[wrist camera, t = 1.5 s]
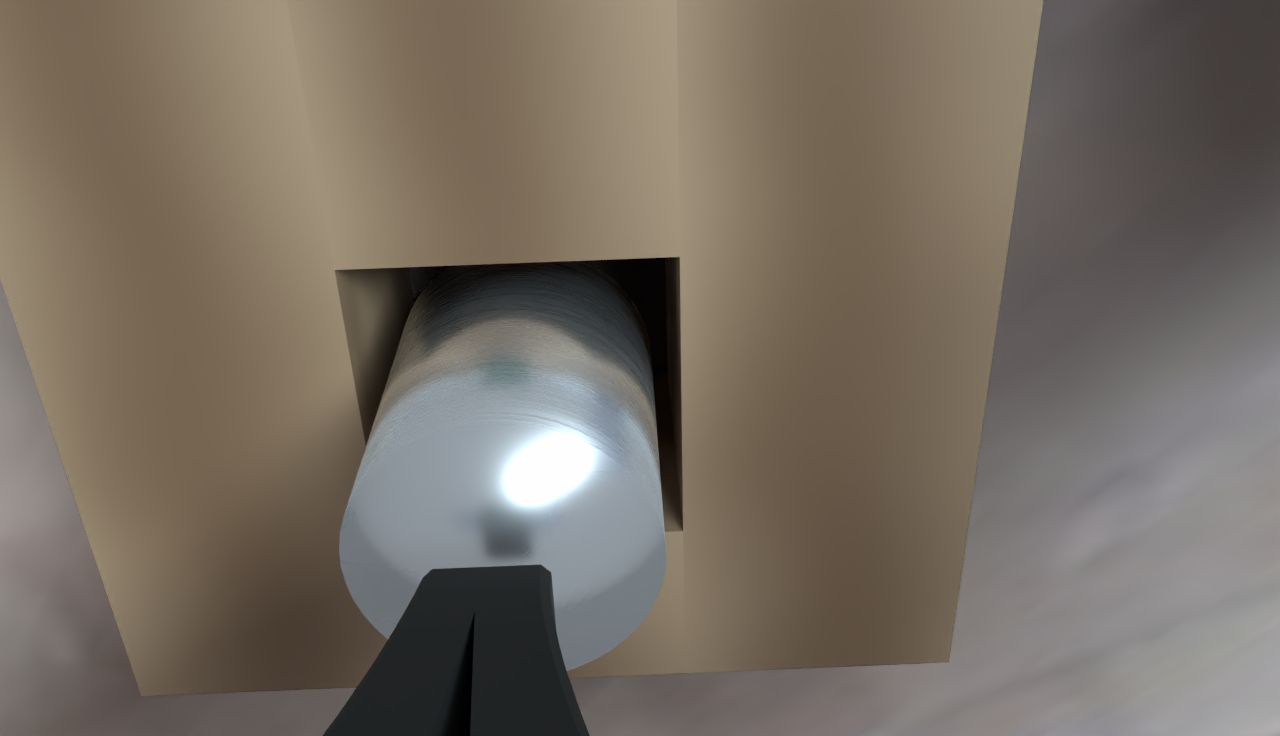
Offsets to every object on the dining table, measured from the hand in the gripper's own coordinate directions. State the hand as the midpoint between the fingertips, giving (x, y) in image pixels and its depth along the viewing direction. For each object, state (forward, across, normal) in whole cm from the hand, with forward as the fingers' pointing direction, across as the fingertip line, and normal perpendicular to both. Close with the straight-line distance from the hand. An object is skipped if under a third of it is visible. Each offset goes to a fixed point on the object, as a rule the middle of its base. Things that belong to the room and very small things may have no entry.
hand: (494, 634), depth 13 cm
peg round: (+6, 0, 0) cm, 6 cm away
